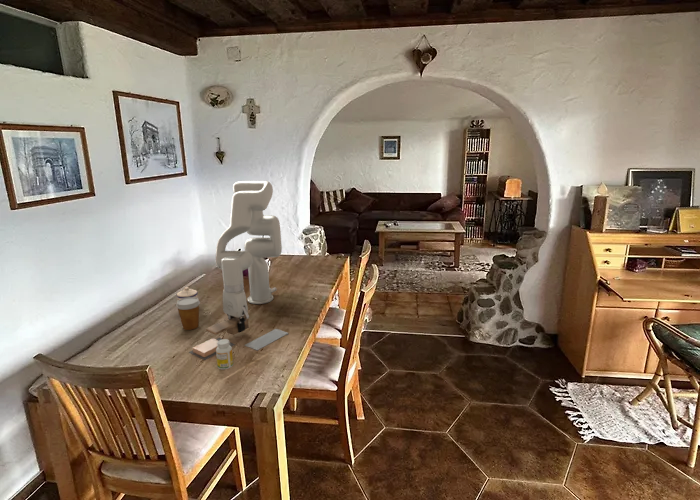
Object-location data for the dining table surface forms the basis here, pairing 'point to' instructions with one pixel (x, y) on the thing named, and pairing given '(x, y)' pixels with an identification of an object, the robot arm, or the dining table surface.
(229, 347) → the supplement bottle
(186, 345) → the dining table surface
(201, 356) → the mat
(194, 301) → the disposable coffee cup
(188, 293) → the teacup with lid
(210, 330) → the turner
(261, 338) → the rest
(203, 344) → the tile
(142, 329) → the dining table surface
